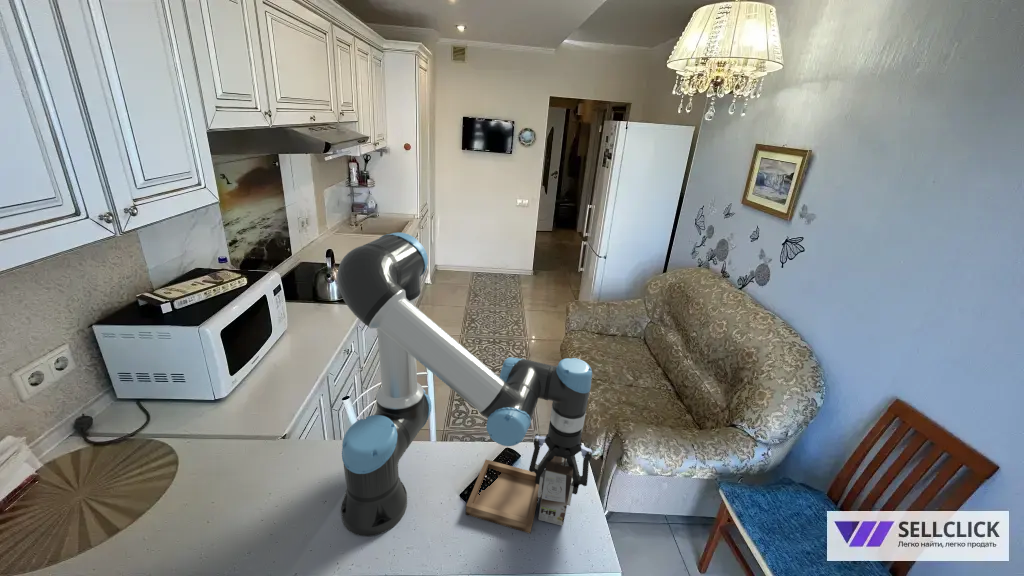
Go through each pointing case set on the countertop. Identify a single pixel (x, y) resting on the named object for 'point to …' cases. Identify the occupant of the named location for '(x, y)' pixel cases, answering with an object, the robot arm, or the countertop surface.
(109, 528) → the countertop surface
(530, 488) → the wooden tray
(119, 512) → the countertop surface
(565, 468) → the coffee box
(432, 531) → the countertop surface
